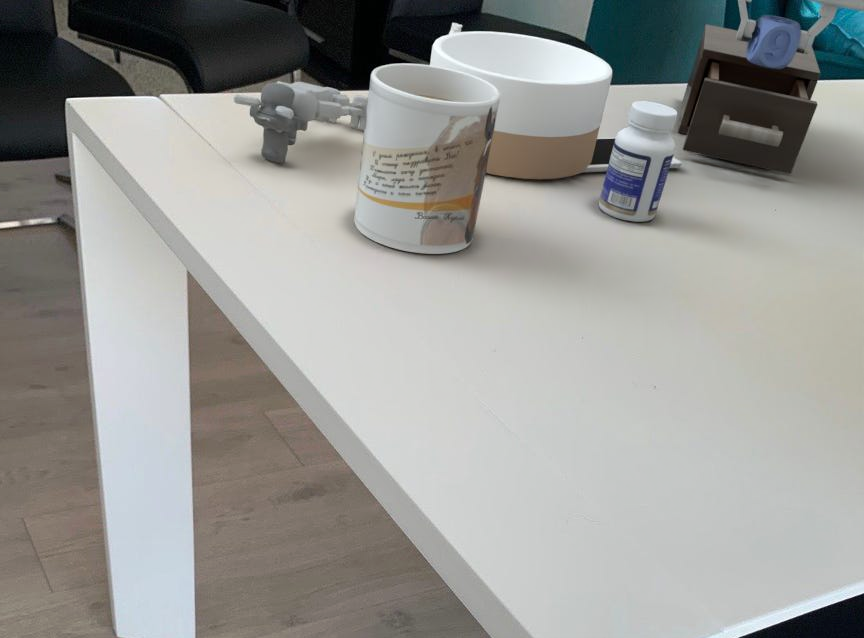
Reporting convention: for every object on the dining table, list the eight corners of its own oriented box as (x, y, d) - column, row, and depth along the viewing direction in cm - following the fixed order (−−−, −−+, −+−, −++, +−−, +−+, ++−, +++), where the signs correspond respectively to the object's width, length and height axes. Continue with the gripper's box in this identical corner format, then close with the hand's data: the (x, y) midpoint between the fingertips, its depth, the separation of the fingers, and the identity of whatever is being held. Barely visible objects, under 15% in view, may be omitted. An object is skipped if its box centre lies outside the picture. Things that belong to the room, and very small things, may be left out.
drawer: (792, 186, 103) (820, 115, 99) (681, 162, 105) (704, 90, 100) (785, 139, 117) (809, 74, 112) (686, 118, 118) (706, 52, 113)
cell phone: (681, 168, 105) (683, 162, 105) (556, 174, 98) (558, 168, 98) (634, 142, 110) (636, 136, 110) (512, 146, 103) (513, 140, 103)
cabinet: (788, 157, 115) (820, 73, 109) (677, 132, 116) (703, 48, 110) (783, 123, 126) (812, 46, 120) (682, 101, 127) (705, 24, 121)
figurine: (307, 144, 104) (220, 154, 89) (317, 75, 100) (229, 74, 85) (374, 163, 102) (297, 176, 87) (386, 94, 99) (309, 95, 84)
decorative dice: (778, 61, 108) (793, 18, 106) (789, 71, 105) (805, 27, 103) (742, 55, 108) (756, 12, 105) (752, 65, 105) (766, 21, 102)
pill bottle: (634, 200, 96) (664, 99, 90) (665, 223, 93) (698, 118, 87) (586, 201, 94) (614, 97, 89) (615, 223, 91) (646, 117, 85)
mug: (323, 212, 83) (338, 63, 76) (431, 194, 90) (454, 55, 83) (407, 263, 78) (431, 107, 71) (515, 240, 85) (548, 96, 77)
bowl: (579, 193, 95) (602, 96, 89) (401, 156, 97) (412, 59, 91) (601, 140, 107) (622, 52, 102) (443, 109, 110) (455, 20, 104)
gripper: (934, -99, 98) (869, 60, 107) (721, -140, 100) (675, 20, 109) (944, -93, 93) (876, 73, 102) (721, -135, 95) (673, 31, 104)
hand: (771, 46), depth 105 cm, fingers closed on decorative dice, 4 cm apart
